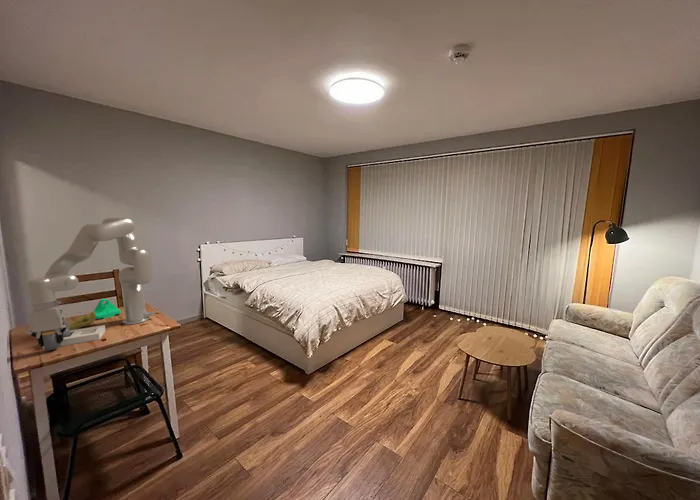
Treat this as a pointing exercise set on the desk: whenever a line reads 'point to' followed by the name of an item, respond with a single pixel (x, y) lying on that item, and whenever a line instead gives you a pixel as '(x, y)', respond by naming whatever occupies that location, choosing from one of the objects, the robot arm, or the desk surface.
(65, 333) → the grey cylinder
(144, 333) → the desk surface
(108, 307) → the camera mount
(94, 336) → the tray
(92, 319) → the plastic component
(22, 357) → the desk surface
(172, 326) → the desk surface
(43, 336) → the gray jar
